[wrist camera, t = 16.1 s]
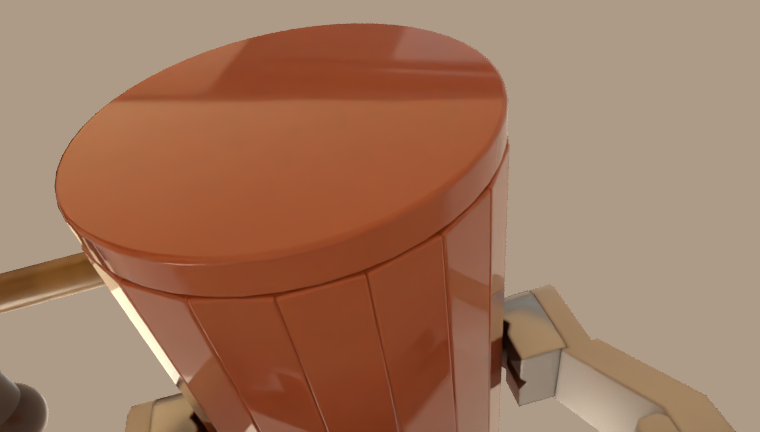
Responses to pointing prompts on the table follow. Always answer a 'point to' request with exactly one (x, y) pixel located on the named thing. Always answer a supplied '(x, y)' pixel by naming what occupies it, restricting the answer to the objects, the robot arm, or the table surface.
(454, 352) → the mug
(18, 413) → the mug stand
